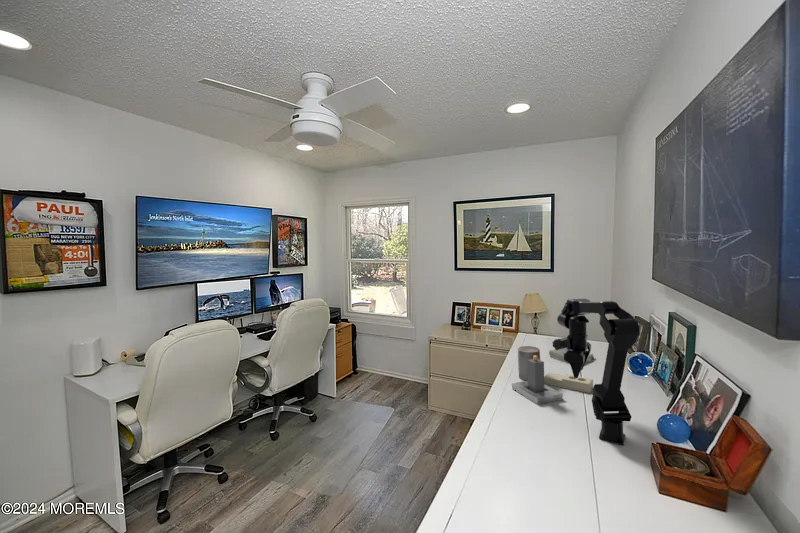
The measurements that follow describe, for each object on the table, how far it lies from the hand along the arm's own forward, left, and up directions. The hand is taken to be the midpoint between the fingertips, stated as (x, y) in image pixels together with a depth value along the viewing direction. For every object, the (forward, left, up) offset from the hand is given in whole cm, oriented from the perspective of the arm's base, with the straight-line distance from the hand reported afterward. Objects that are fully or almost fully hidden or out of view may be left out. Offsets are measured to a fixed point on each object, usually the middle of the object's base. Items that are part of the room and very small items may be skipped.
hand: (578, 373), depth 124 cm
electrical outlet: (+20, +7, -14) cm, 25 cm away
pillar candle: (+20, +24, -13) cm, 34 cm away
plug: (+4, +16, -12) cm, 21 cm away
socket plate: (+4, +16, -13) cm, 21 cm away
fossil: (+60, +13, -14) cm, 63 cm away
